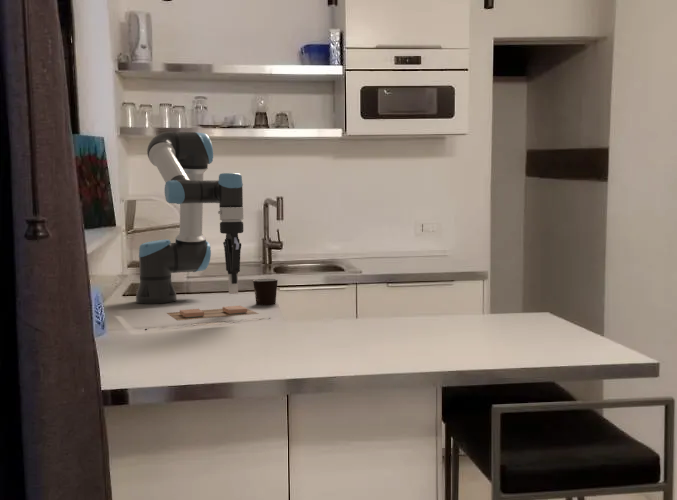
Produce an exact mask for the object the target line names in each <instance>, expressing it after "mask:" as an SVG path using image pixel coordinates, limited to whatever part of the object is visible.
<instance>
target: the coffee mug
mask: <svg viewBox="0 0 677 500" xmlns="http://www.w3.org/2000/svg"><path fill="white" fill-rule="evenodd" d="M252 283H253V291H254V297H255V298H254V299H255V305H257V306H272V305H276V304H277V294H278V293H277V291H278V278H256V279H253V280H252Z"/></svg>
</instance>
